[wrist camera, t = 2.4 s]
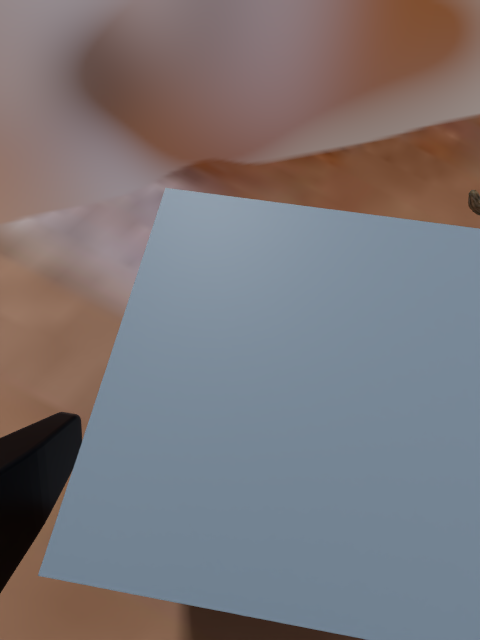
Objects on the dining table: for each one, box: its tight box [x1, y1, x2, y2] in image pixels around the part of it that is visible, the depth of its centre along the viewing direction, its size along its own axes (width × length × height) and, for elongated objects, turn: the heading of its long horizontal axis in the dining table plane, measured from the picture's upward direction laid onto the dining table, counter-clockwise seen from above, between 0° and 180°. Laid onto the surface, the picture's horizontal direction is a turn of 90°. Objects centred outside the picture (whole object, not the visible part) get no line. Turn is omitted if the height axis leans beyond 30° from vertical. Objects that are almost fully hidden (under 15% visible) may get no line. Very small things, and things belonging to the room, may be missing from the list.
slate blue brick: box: [38, 188, 480, 640], centre depth 11 cm, size 6×6×12 cm
